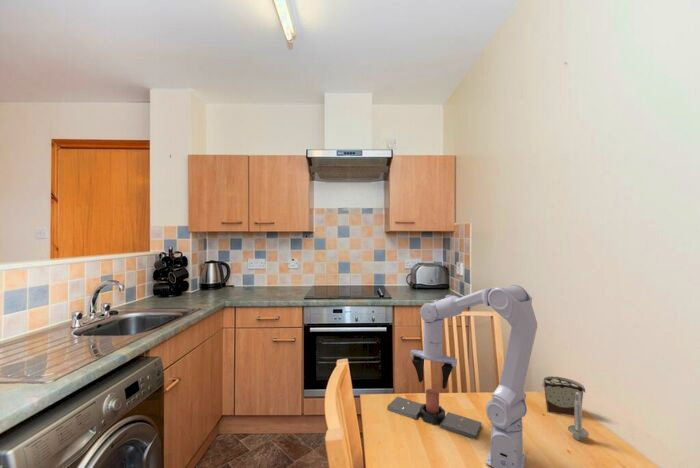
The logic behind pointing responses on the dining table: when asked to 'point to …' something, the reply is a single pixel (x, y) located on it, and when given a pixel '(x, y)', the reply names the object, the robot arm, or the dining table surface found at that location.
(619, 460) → the dining table surface
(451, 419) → the hinge
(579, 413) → the screw
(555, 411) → the food container
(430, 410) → the hinge pin
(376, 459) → the dining table surface
